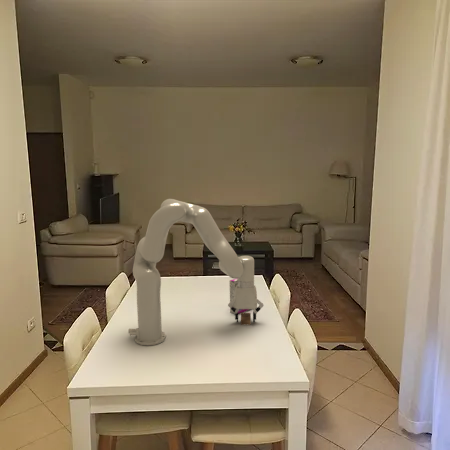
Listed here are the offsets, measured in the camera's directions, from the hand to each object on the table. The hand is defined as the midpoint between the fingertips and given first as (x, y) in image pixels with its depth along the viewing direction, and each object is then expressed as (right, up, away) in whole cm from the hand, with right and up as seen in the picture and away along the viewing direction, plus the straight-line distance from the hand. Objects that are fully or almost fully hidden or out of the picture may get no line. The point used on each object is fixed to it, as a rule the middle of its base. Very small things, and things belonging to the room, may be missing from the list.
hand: (245, 320), depth 184 cm
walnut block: (0, -1, 0) cm, 1 cm away
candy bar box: (-2, +1, +14) cm, 14 cm away
